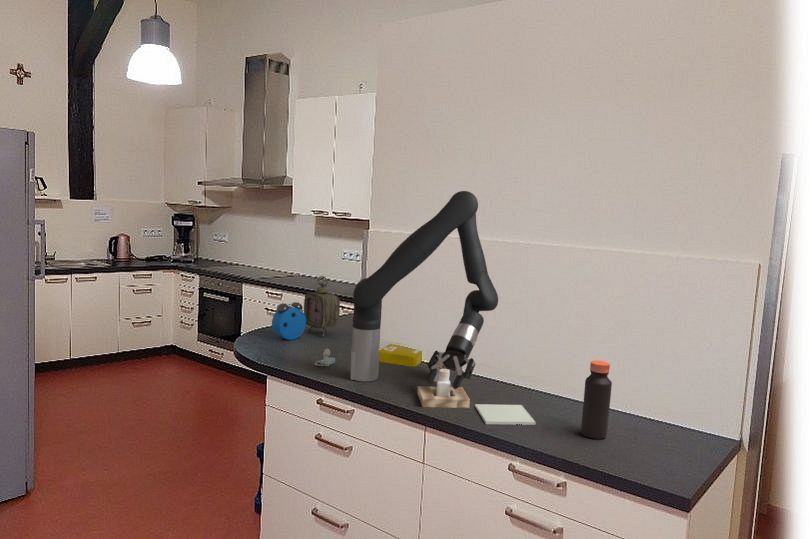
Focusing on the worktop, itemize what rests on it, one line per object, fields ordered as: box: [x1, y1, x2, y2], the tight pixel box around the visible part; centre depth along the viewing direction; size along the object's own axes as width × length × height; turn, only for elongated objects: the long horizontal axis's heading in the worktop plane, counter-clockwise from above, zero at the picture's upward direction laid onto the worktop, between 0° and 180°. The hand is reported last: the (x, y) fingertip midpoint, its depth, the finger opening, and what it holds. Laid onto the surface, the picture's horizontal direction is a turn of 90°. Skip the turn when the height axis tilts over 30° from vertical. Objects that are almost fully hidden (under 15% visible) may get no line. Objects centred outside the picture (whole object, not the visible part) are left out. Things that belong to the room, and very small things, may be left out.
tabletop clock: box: [303, 275, 341, 338], centre depth 271 cm, size 14×9×25 cm, turn 43°
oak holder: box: [417, 385, 471, 409], centre depth 194 cm, size 14×12×2 cm
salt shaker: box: [436, 369, 452, 396], centre depth 193 cm, size 4×4×10 cm
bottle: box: [580, 360, 613, 440], centre depth 171 cm, size 7×7×20 cm
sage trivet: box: [475, 403, 537, 426], centre depth 184 cm, size 14×14×1 cm
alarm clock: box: [271, 301, 307, 341], centre depth 260 cm, size 13×6×15 cm, turn 133°
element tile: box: [379, 343, 423, 367], centre depth 239 cm, size 15×15×5 cm
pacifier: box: [314, 348, 336, 367], centre depth 226 cm, size 7×6×6 cm
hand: (441, 384), depth 192 cm, fingers open, 8 cm apart
